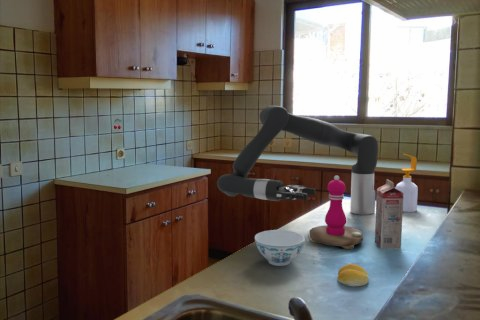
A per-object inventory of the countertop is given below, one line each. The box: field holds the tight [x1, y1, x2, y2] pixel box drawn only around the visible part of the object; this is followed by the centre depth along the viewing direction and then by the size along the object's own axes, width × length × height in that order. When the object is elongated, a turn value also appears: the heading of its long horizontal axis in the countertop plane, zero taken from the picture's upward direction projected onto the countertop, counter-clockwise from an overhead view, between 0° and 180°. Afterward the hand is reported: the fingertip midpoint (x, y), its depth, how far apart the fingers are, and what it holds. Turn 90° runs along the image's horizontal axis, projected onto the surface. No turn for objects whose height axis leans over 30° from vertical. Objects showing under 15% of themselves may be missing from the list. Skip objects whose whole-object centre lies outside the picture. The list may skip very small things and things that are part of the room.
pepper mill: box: [324, 175, 347, 235], centre depth 155 cm, size 7×7×20 cm
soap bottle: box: [395, 153, 419, 213], centre depth 196 cm, size 9×9×25 cm
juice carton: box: [374, 178, 404, 250], centre depth 151 cm, size 7×7×22 cm
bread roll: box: [337, 263, 370, 287], centre depth 125 cm, size 8×9×4 cm
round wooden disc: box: [308, 224, 364, 250], centre depth 157 cm, size 18×18×4 cm
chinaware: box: [254, 229, 306, 267], centre depth 138 cm, size 15×15×8 cm
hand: (311, 194), depth 159 cm, fingers open, 8 cm apart
